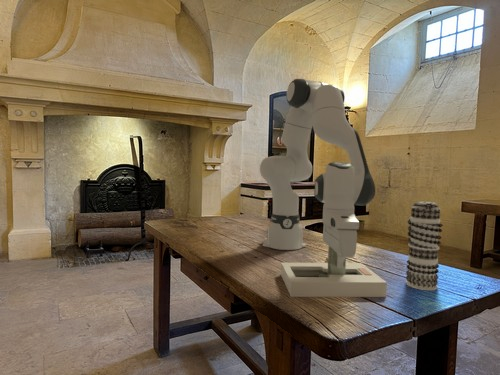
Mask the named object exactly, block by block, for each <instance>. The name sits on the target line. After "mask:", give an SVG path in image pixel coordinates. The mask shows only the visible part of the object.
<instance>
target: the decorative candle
mask: <svg viewBox="0 0 500 375" xmlns="http://www.w3.org/2000/svg"><path fill="white" fill-rule="evenodd" d="M410 208H411V210H410V212H411V216H410V219H408V220H407V224H408V225H409V226H408V227H407V230H408V232H407V236H408V239H407V242H408V244H407V246H408V247H409V250H408V252H409V253H408V255H407V256H408V258H407V260H406V264H408V265H406V269H407V270H406V272H405V274H406V276H405V279H406V281H405V284H406V286H408V287H410V288H414V289H416V290H422V291H427V292H428V291H436V290H438V283H439V281H438V279H439V275H438V273H439V269H438V268H439V267H440V264H438V263H439V258H438V253H439V252H438V251H439V250H440V248H441V247H440V246H438V245H440V244H442V242H441V241H440V239H442V236H441V235H440V234H439V233H442V232H443V229H441V228H443V227H444V225H443V223H441V209H442V207H439V205H438V204H437V202H432V201H415V202H414V203H413V205H410Z"/></svg>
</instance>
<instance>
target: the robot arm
mask: <svg viewBox="0 0 500 375" xmlns="http://www.w3.org/2000/svg"><path fill="white" fill-rule="evenodd" d="M286 90H287V91H286V98H285V99H286V102H287V103H288V105H289V106H290V108H289V109H288V113H287V114H286V115H287V116H286V119H285V123H284V127H283V131H282V135H281V142H282V144H283V145H284V146H285V147H286V155H272V156H267V157H265V158H263V159H262V160H261V163H260V165H259V173H260V175H261V177H262V179H263V180H265V181H266V182H267V185H268V186H269V187H270V188H269V189H270V190H271V195H272V213H271V217H270V218H271V219H270V221H271V223H270V225H268V228H266V229H265V235H266V237H265V239H264V240H263V243H262V246H263V247H264V248H269V249H275V250H281V251H294V250H299V249H301V248H306V247H307V244H306V243H305V242H303V237H304V236H303V226H301V225H300V220H301V219H300V214H299V206H300V203H299V202H300V198H299V194H297V192H295V191H294V189H293V188H292V185H291V183H292V182H293V183H294V182H295V183H296V182H297V183H299V182H303V181H306V180H308V179H310V178H311V176H312V174H313V165H312V162H311V161H310V160H309V157H308V155H309V154H308V146H309V141H310V137H311V133H312V129H313V132H314V134H315V135H316V136H317V137H318V139H320V140H321V141H323V142H325V143H329V144H332V145H334V146H336V147H338V148H341V149H342V150H344V152H346V153H347V154H348V157H349V161H350V162H349V163H348V162H344V161H333V162H329V163H328V164H326V167H325V172H324V173H321V174H319V175H318V176H317V177H316V178H315V179H314V192H313V194H314V197H315V199H317V201H319V202H320V203H323V205H322V206H323V207H322V224H323V228H322V230H323V231H322V241H323V243H324V244H326V245H327V246H328V248H329V247H330V248H332V249H333V250H334V251H335V252H336V253H337V261H336V267H337V268H343V262H344V260H345V258H346V259H347V258H349V259H350V258H351V259H352V258H354V257H355V255H356V252H357V243H358V242H357V241H358V232H357V230H359V228H360V221H359V220H358V218H357V217H356V214H355V206H360V207H361V206H363V207H364V206H366V205H368V204H369V203H370V202H372V201H373V199H374V198H375V196H376V185H375V181H374V178H373V176H372V174H371V172H370V169H369V166H368V163H367V158H366V155H365V151H364V146H363V145H362V140H361V138H360V135H359V132H358V131H357V129H356V128H354V127H352V126H351V124H350V123H349V121H348V120H347V117H346V109H345V92H344V90H343V89H342V88H341V87H338V86H337V85H334V84H329V83H326V82H323V81H316V80H309V79H304V78H295V79H292V80H291V82H290V83H289V84H288V87H287V88H286Z"/></svg>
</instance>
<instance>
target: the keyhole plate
mask: <svg viewBox="0 0 500 375" xmlns="http://www.w3.org/2000/svg"><path fill="white" fill-rule="evenodd" d="M319 274H328V263H325V262H281V264H280V276H281V278H282V280H283V282H284V285H285V287H286V290H287V291H288V295H289V296H290V298H294V297H295V298H299V297H300V298H308V297H309V298H319V297H320V298H326V297H327V298H387V283H388V282H387V281H386V280H384V279H383V278H382V277H380V276H379V275H378V274H376V273H375V272H374V271H372V270H371V269H370V268H368V267H367V266H366V265H364V264H363V263H362V262H346V268H345V275H329V277H319Z"/></svg>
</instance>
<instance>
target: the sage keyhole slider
mask: <svg viewBox="0 0 500 375" xmlns="http://www.w3.org/2000/svg"><path fill="white" fill-rule="evenodd" d="M327 255H328V256H327V258H328V274H319V276H318V277H329V275H345V268H346V263H347V262H346V261H347V258H345V260H344V262H343V268H337V267H336V261H337V253H336V252H335V251H334V250H333V249H332V248H330V247H329V246H328V253H327Z"/></svg>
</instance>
